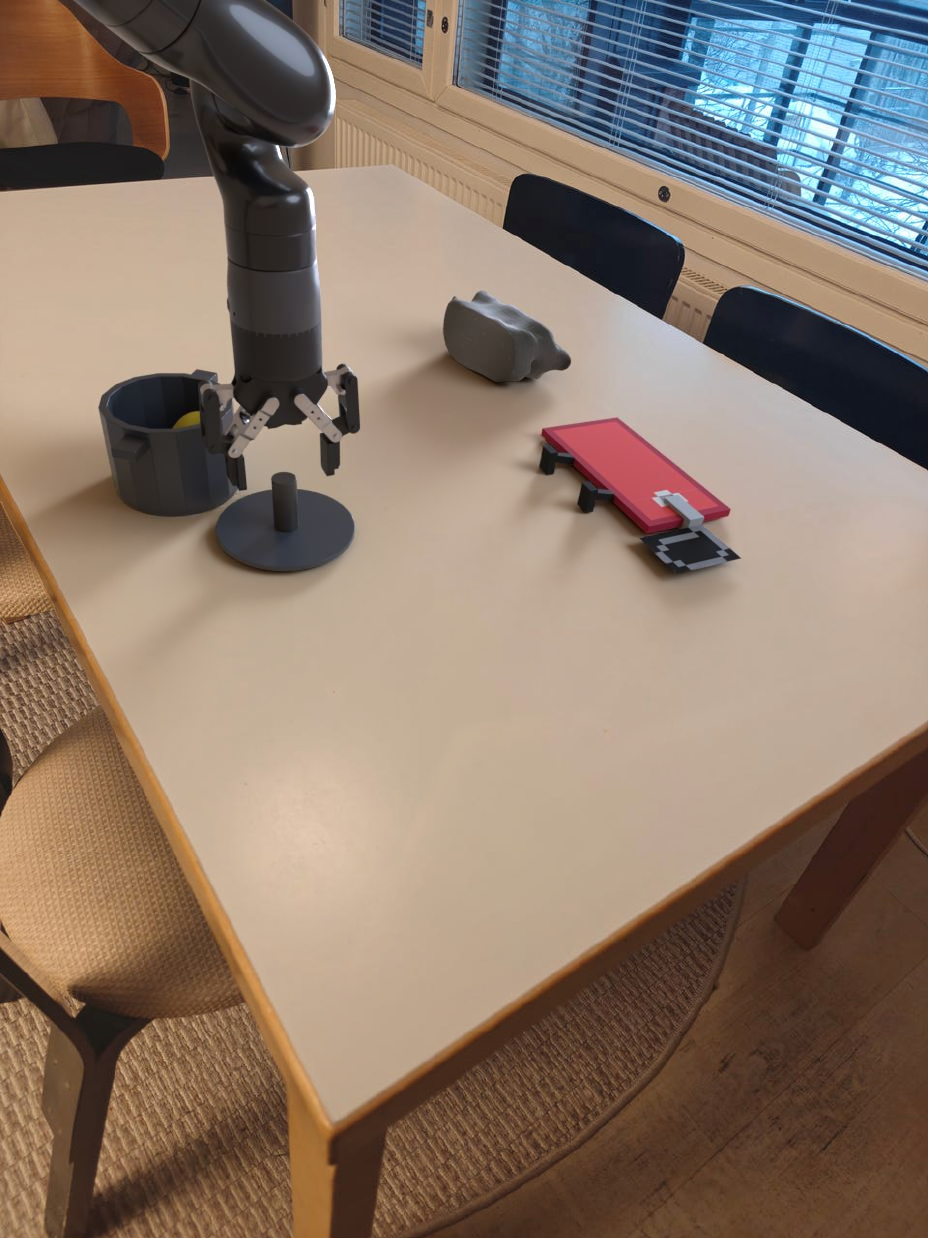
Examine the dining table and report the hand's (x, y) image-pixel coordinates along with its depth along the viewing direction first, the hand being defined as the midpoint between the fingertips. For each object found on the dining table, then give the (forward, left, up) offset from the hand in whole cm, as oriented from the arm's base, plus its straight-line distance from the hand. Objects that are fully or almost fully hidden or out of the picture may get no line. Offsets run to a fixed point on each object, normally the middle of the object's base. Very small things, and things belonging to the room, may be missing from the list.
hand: (285, 478), depth 82 cm
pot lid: (0, 0, -6) cm, 6 cm away
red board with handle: (+34, +20, -7) cm, 40 cm away
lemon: (-14, +5, -6) cm, 16 cm away
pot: (-14, +5, -7) cm, 16 cm away
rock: (+13, +49, -7) cm, 51 cm away
